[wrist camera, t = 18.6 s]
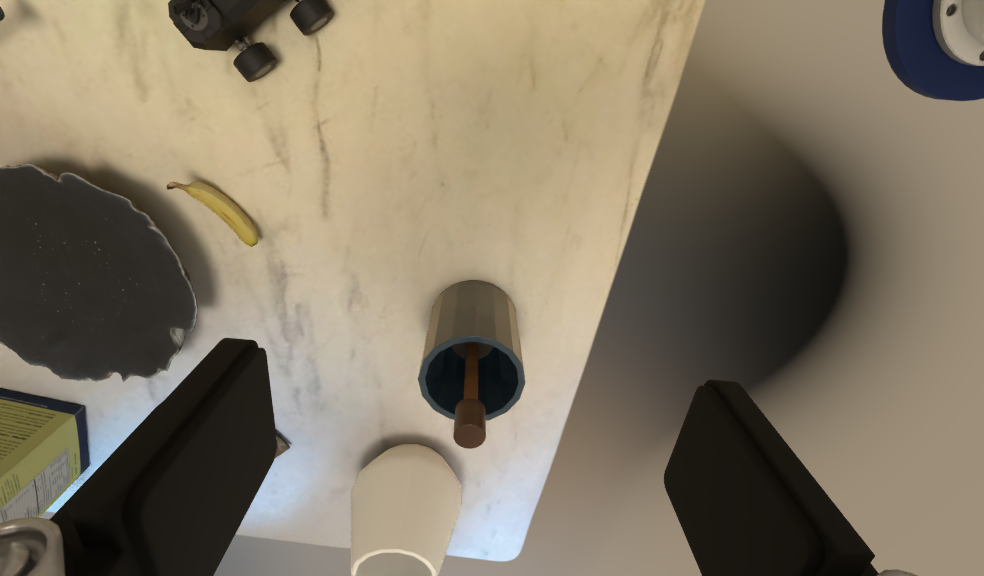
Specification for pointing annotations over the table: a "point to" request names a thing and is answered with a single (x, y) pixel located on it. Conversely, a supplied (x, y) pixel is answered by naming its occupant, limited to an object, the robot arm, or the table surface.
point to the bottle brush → (470, 397)
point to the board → (87, 279)
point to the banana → (222, 209)
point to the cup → (403, 513)
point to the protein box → (38, 452)
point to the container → (472, 318)
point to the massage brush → (1, 14)
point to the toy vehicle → (242, 27)
